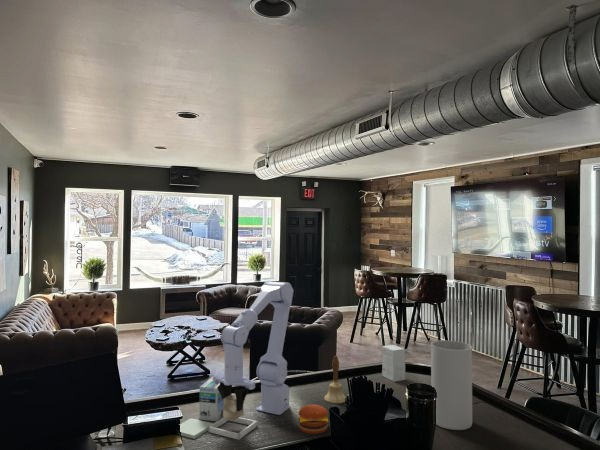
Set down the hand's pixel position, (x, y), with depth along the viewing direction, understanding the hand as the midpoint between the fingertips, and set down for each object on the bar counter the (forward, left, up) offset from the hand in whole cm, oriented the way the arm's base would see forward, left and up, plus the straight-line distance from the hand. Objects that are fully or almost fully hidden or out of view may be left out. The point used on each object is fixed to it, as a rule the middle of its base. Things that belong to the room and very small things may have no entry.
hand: (233, 408), depth 132 cm
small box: (-34, -70, -6) cm, 78 cm away
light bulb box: (+12, -6, -7) cm, 15 cm away
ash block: (0, 0, -2) cm, 2 cm away
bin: (0, 0, -6) cm, 6 cm away
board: (+11, +6, -6) cm, 14 cm away
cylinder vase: (-61, -35, -6) cm, 71 cm away
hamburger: (-22, -12, -7) cm, 26 cm away
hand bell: (-20, -37, -7) cm, 43 cm away
